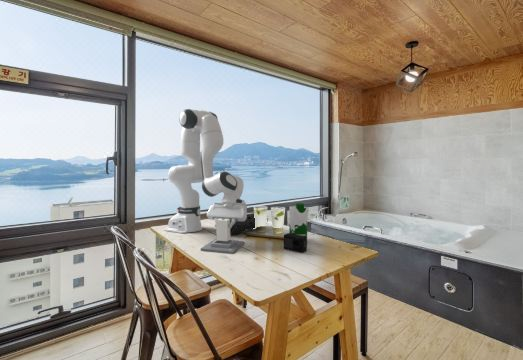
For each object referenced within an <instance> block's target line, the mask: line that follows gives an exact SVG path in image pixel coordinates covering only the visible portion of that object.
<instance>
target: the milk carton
mask: <svg viewBox="0 0 523 360" xmlns="http://www.w3.org/2000/svg"><path fill="white" fill-rule="evenodd" d="M288 207H289V208H288V209H289V230H288V231H289V232H288V233H290V234H296V235H301V236H305V237H307V238H308V219H309V218H308V215H309V208H308V207H306V206H305V203H301V202H300V203H296V206H295V205H294V206H288Z"/></svg>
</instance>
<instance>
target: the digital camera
mask: <svg viewBox="0 0 523 360" xmlns="http://www.w3.org/2000/svg"><path fill="white" fill-rule="evenodd" d="M283 250H286V251H289V252H290V251H292V252H295V253H300V254H304V253H306V252H307V251H308V236H307V237H305V236H301V235H296V234H290V233H289V232H287V233H285V234H283Z"/></svg>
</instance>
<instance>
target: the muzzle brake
mask: <svg viewBox="0 0 523 360" xmlns="http://www.w3.org/2000/svg"><path fill="white" fill-rule="evenodd" d="M254 213H255V212H251V213H247V218H246V220H245V221H244V222H243V221H236V222H235V224H233V225H232V228H230V236H234V235H236V234H237V235H238V234H240V233H243V232H244V231H245V232H246V231H248V230H249V229H250V230H252V229H253V228H255V218H254ZM268 221H269V217H268V218H267V223H268ZM231 222H232V221H230V223H231Z"/></svg>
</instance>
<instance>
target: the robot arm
mask: <svg viewBox="0 0 523 360" xmlns="http://www.w3.org/2000/svg"><path fill="white" fill-rule="evenodd" d="M178 121H179V124H180V126H181V127H182V128H181V134H180V154H181V156H182V157H183V158H184V159H185V160H187V161H188V162H187V164H179V165H173V166H171V167H170V168H169V170H168V171H167V178H168V180H169V182H171V183H172V184H173V185H174V186H175V187H176V188H177V190H178V192H179V198H180V199H179V200H180V206H178V207H176V211H177V213H176V214H174V215H173V216H172V217H171V218H170V219H169V220H168V226H166V227H164V229H163V230H164V231H165V232H166V231H167V232H171V233H172V232H173V233H179V234H186V233H196V232H199V231H202V230H203V225H202V221H201V206H200V194H199V192H198V191H197V190H196V189H194V188H193V187H192V184H198V183H199V184H200V183H201V189H202V192H203V193H204V194H205V195H206V196H208V197H211V198H213V197H216V196H217V195H220V194H221V193H223V197H222V200H221V203H220V202H218V203H217V202H214V203H212V204H211V205H210V206H209V209H208V211H207V212H206V217H207V219H208V220H210V221H211V220H212V221H214V227H215V228H216V220H217V219H219V218H224V219H230V221H232V222H231V223H229V224H228V228H232V225H233V224H235V222H236V221H243V222H244V221H245V220H246V218H247V214H248V211H247V210H248V205H247V204H246V202H245V200H243V199H241V197H242V194H243V192H244V191H243V190H244V187H245V186H244V180H243V178H241V177H240V176H238V175H232V174H231V172H228V171H225V170H224V171H221V172H219V173H216V174H215V175H214V168H213V167H214V166H213V165H214V164H213V161H214V158H215V157H216V155H217V154H218V152H220V151H221V150H222V149H223V148H222V147H223V146H224V135H223V132H222V128H221V124H220V122H219V120H218V116H217V114H216V113H214V112H212V111H206V110H203V109H191V108H187V109H183V110H181V112H180V114H179V119H178ZM201 143H202V147H201Z"/></svg>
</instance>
